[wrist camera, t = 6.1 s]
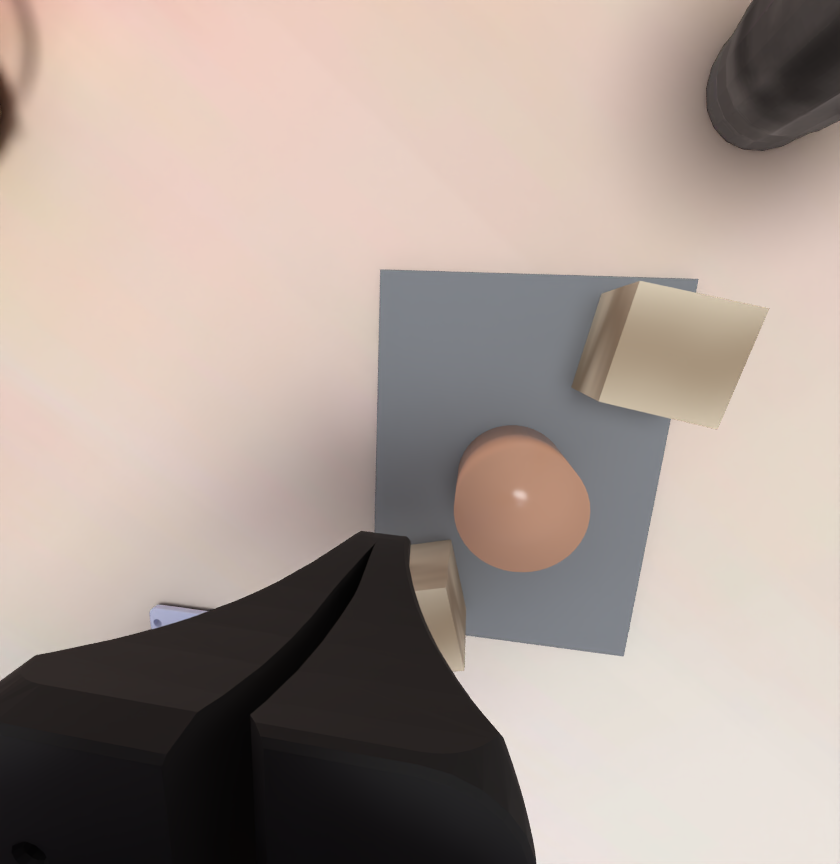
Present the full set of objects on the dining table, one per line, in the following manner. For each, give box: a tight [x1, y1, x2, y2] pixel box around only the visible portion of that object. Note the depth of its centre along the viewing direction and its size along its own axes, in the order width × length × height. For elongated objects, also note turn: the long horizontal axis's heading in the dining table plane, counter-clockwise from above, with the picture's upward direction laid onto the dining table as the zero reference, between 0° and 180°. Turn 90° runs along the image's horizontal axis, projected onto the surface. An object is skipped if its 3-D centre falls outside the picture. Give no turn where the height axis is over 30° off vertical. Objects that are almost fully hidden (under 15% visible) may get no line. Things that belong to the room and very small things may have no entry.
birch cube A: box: [409, 540, 466, 672], centre depth 19 cm, size 4×4×4 cm
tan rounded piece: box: [454, 425, 590, 572], centre depth 17 cm, size 5×5×4 cm
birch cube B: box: [571, 281, 769, 430], centre depth 15 cm, size 4×4×4 cm
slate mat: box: [375, 270, 698, 656], centre depth 19 cm, size 18×13×1 cm
